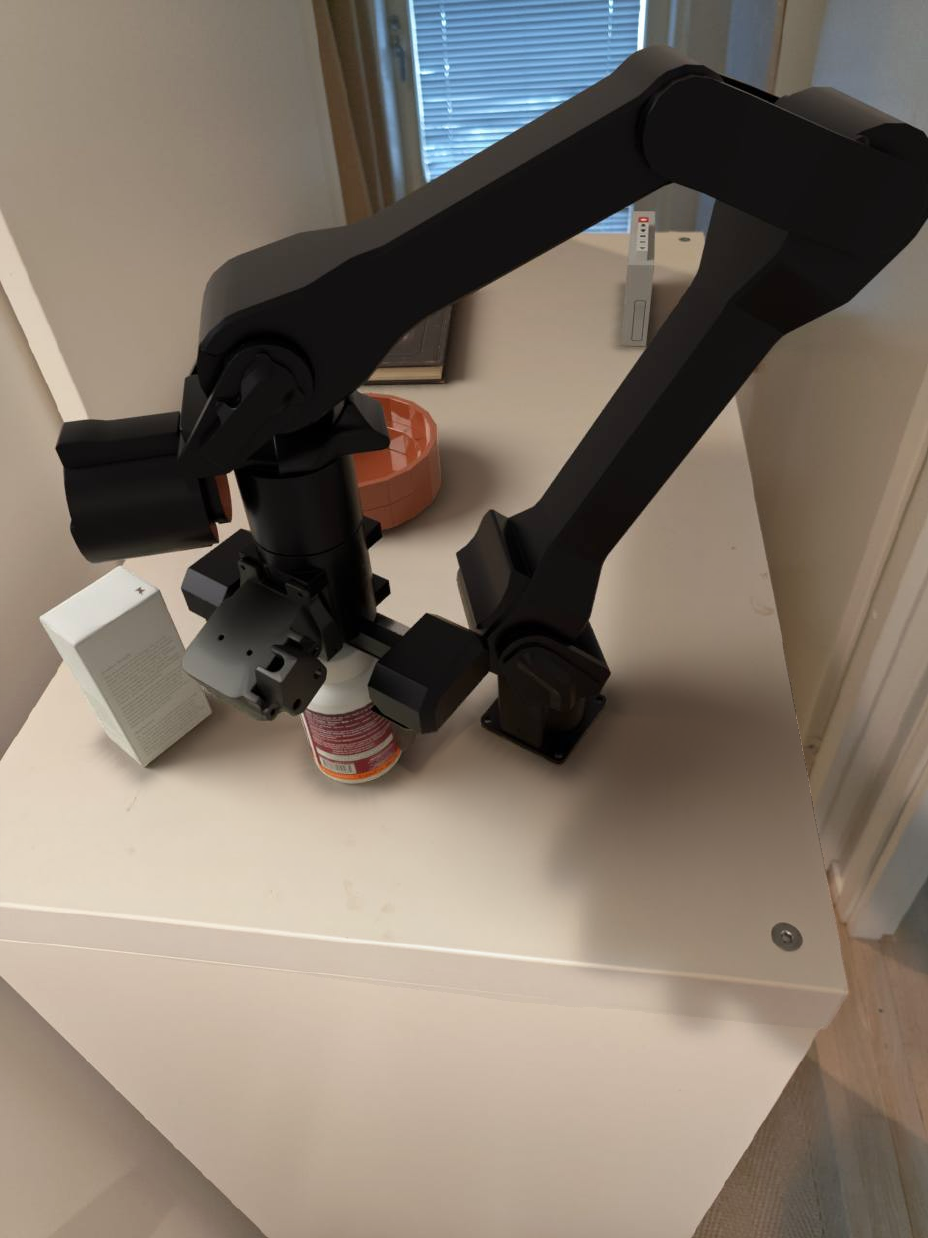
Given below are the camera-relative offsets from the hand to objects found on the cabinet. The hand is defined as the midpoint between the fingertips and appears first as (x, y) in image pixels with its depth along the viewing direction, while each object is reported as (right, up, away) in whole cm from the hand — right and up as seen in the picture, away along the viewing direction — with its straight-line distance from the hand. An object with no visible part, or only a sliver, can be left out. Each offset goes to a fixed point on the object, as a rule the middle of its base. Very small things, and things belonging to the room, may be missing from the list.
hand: (350, 714), depth 54 cm
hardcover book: (-2, +39, +46) cm, 60 cm away
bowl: (-2, +18, +24) cm, 30 cm away
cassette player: (+28, +42, +46) cm, 68 cm away
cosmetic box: (-14, -2, +5) cm, 15 cm away
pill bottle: (0, -3, +3) cm, 4 cm away
